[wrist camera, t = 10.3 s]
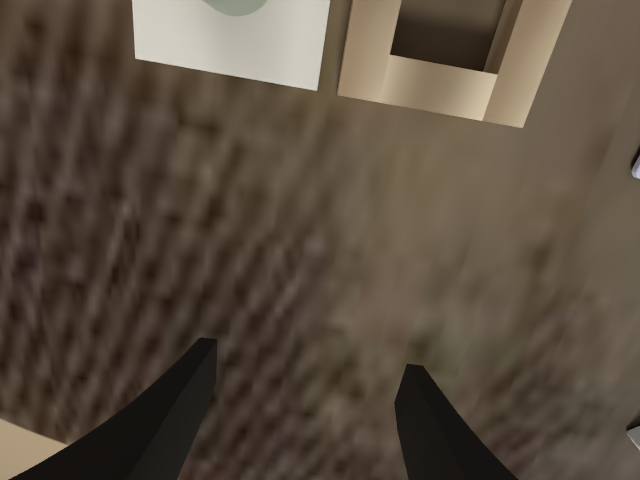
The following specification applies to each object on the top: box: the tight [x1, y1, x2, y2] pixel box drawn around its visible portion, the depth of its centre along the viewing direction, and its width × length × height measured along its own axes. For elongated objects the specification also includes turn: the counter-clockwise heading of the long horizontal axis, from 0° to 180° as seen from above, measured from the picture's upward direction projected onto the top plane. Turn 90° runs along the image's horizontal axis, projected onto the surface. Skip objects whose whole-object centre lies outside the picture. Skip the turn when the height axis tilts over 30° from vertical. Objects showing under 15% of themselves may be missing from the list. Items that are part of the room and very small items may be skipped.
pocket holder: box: [337, 0, 572, 128], centre depth 15 cm, size 9×9×2 cm
